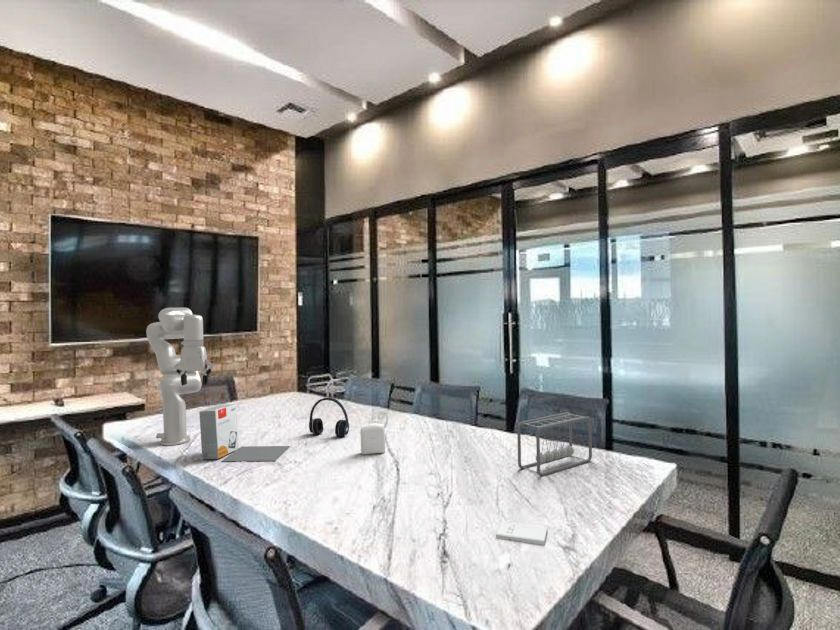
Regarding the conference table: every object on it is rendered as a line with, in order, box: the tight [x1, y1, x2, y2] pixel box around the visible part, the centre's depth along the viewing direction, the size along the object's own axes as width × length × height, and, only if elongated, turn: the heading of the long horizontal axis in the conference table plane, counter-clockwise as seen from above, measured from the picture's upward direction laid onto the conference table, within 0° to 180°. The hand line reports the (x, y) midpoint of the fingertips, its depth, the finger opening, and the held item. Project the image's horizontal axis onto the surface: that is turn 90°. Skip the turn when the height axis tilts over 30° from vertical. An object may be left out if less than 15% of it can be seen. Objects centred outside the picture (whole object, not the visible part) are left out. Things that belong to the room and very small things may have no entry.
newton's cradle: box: [516, 411, 593, 477], centre depth 179 cm, size 30×10×18 cm, turn 123°
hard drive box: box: [198, 403, 240, 460], centre depth 201 cm, size 16×8×20 cm, turn 168°
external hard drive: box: [495, 521, 548, 546], centre depth 126 cm, size 2×8×12 cm
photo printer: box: [360, 422, 386, 455], centre depth 199 cm, size 10×4×12 cm, turn 100°
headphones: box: [308, 397, 350, 438], centre depth 227 cm, size 20×7×18 cm, turn 71°
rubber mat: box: [221, 445, 291, 463], centre depth 200 cm, size 22×20×1 cm
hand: (194, 384), depth 201 cm, fingers open, 8 cm apart
